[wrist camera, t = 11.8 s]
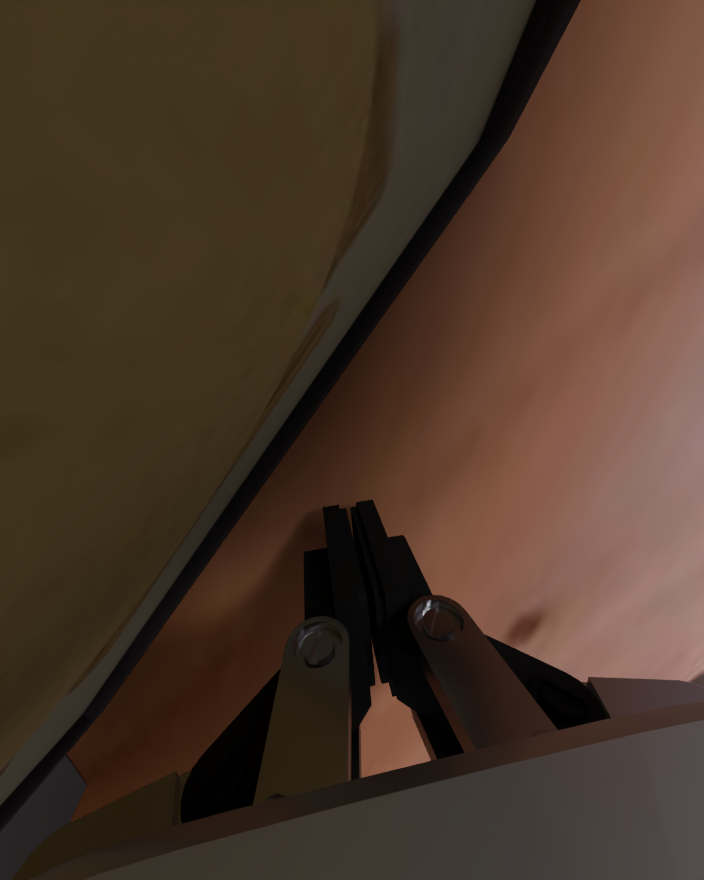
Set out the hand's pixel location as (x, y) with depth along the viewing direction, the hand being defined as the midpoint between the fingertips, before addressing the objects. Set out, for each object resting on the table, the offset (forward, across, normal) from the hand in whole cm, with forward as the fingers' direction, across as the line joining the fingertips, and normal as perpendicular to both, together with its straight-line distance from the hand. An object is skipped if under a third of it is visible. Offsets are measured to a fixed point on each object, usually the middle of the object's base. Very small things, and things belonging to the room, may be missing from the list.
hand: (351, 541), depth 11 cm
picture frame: (+1, +6, -5) cm, 8 cm away
